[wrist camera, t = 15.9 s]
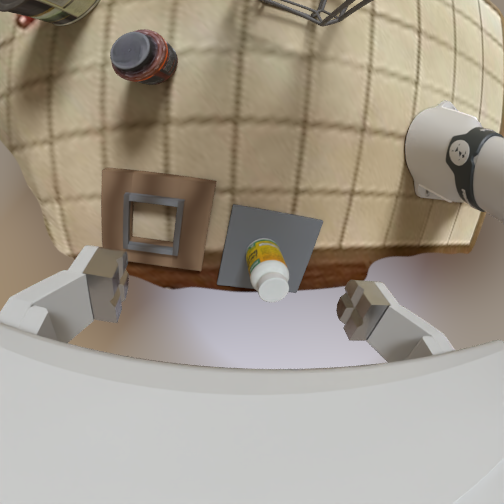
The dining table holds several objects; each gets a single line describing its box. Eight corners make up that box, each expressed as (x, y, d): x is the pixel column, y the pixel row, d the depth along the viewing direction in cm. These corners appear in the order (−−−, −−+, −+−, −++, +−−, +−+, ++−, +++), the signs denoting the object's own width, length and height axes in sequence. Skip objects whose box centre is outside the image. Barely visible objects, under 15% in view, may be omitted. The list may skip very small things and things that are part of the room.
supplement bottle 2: (273, 268, 45) (286, 308, 37) (241, 264, 44) (248, 304, 35) (283, 239, 42) (300, 276, 34) (249, 234, 41) (259, 271, 33)
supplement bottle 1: (173, 38, 25) (155, 13, 16) (182, 76, 29) (167, 65, 19) (130, 53, 25) (96, 37, 16) (139, 91, 29) (107, 88, 19)
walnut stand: (216, 180, 37) (215, 186, 34) (201, 265, 43) (200, 274, 41) (106, 167, 33) (99, 172, 31) (106, 252, 40) (101, 260, 38)
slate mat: (322, 220, 42) (323, 221, 41) (295, 291, 48) (296, 292, 48) (233, 204, 39) (233, 205, 38) (217, 282, 45) (217, 284, 45)
